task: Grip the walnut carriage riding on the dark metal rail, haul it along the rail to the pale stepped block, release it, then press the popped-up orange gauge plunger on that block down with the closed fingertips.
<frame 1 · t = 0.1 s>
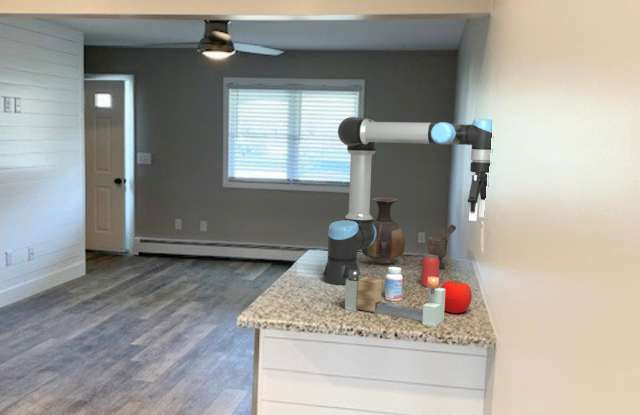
hand: (477, 218, 224), 28 cm above the worktop, fingers open, 13 cm apart
vase: (382, 264, 274), on the worktop
carriage: (369, 293, 198), point 6 cm above the worktop, slide at 0.0 cm
gauge plunger: (432, 285, 184), point 12 cm above the worktop, slide at 0.0 cm
pill bottle: (393, 299, 214), on the worktop
beer can: (429, 286, 235), on the worktop
pale stepped block: (433, 321, 188), on the worktop
tomato: (454, 312, 200), on the worktop
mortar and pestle: (440, 267, 271), on the worktop
rail: (393, 314, 194), on the worktop
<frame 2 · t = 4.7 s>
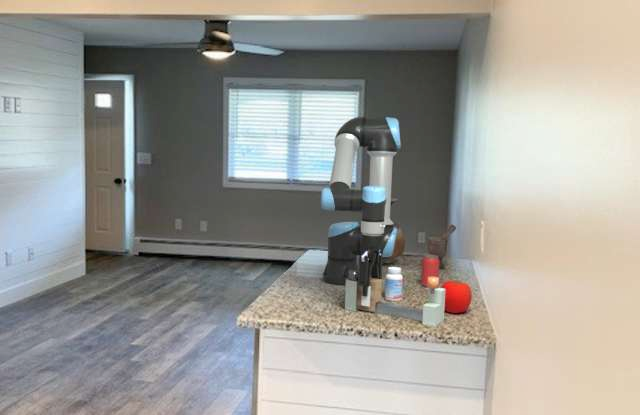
hand: (369, 303, 198), 2 cm above the worktop, fingers closed on carriage, 5 cm apart
carriage: (369, 293, 198), point 6 cm above the worktop, slide at 0.0 cm, touching gripper
everything else where it was.
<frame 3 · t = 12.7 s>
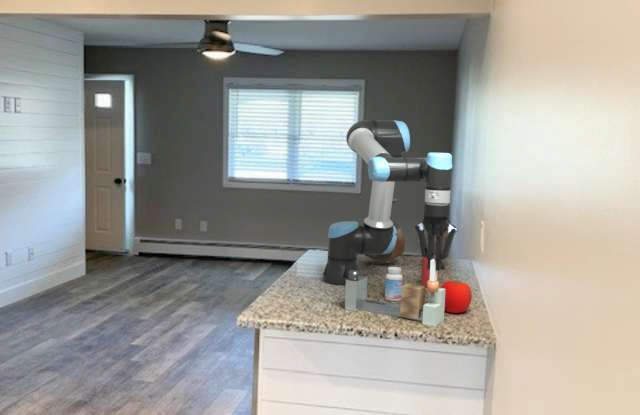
hand: (433, 280, 184), 14 cm above the worktop, fingers closed
carriage: (412, 301, 191), point 6 cm above the worktop, slide at 15.0 cm
gauge plunger: (432, 289, 185), point 11 cm above the worktop, slide at -1.1 cm, touching gripper
everything else where it was.
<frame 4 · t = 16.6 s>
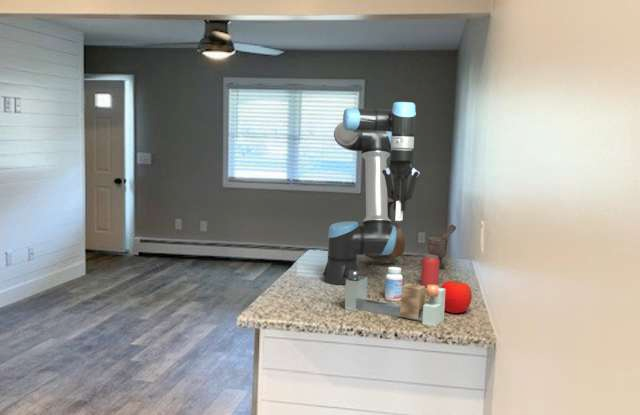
hand: (398, 220, 201), 29 cm above the worktop, fingers closed
gauge plunger: (432, 293, 185), point 9 cm above the worktop, slide at -2.5 cm
everything else where it was.
at the end: carriage slide at 15.0 cm; gauge plunger slide at -2.5 cm; the gripper is holding nothing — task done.
